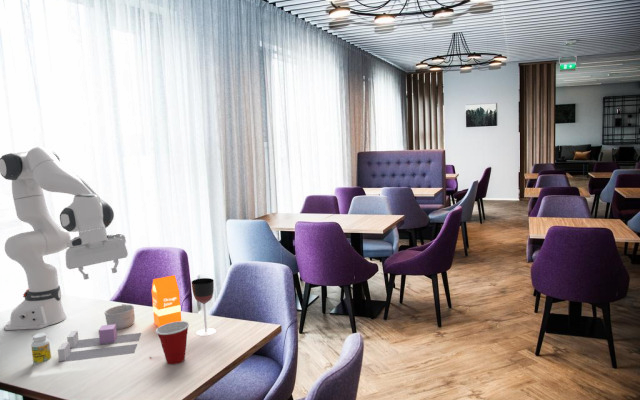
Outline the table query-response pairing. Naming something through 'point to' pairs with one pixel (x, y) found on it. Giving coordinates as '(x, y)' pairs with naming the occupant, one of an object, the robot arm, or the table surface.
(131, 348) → the empty strip
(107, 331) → the plum block
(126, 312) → the teacup
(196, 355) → the table surface
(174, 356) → the plastic cup
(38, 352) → the supplement bottle
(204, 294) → the wineglass
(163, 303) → the orange juice
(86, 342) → the cube strip
